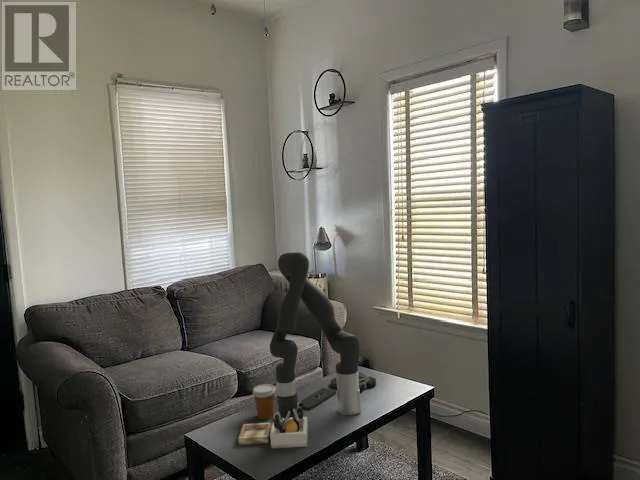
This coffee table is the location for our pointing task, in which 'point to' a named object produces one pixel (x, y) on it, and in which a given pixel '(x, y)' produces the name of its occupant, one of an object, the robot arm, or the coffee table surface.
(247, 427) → the tray
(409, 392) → the coffee table surface
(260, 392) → the disposable coffee cup
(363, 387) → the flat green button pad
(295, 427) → the ball
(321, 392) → the smart home device
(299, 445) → the white square bin
